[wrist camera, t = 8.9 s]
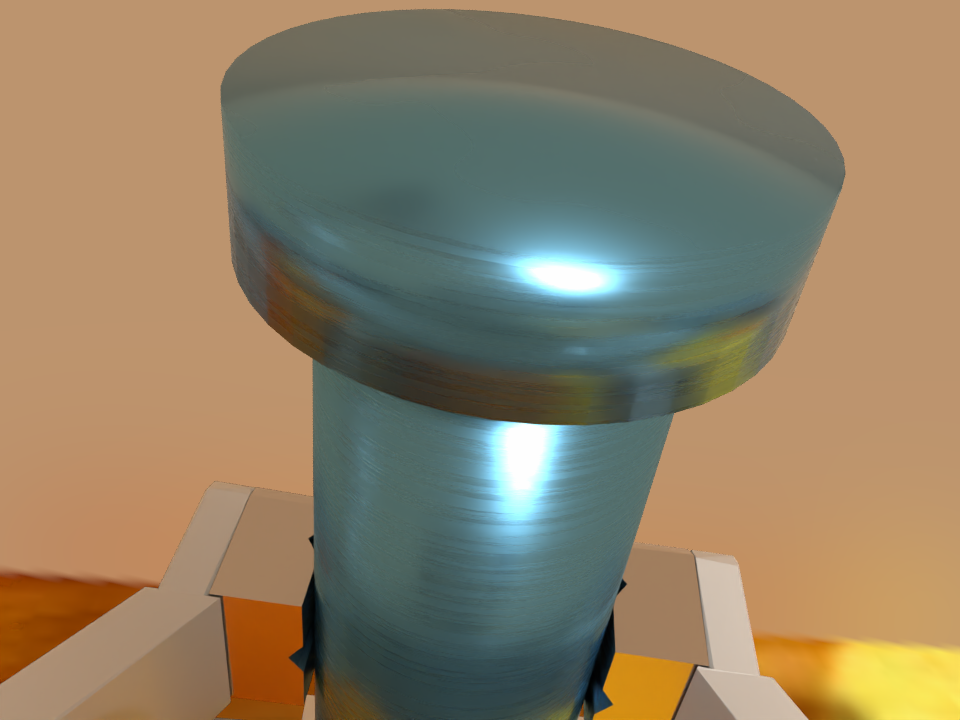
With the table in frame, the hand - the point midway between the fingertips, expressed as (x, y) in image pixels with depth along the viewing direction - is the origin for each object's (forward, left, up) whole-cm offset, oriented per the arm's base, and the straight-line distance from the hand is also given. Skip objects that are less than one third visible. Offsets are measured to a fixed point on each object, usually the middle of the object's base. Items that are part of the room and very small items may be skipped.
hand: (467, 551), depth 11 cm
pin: (0, -1, -8) cm, 8 cm away
